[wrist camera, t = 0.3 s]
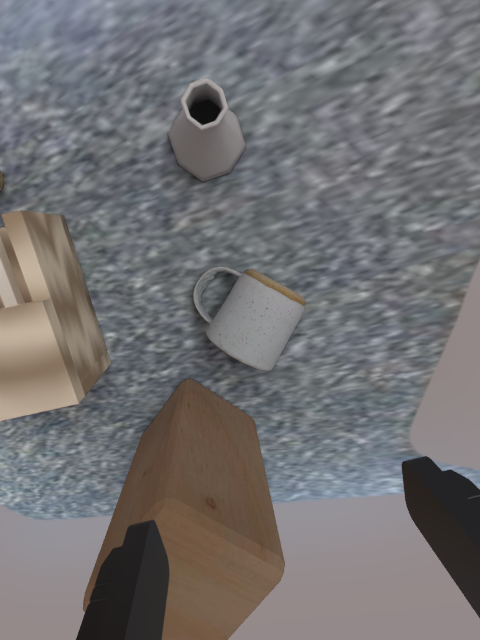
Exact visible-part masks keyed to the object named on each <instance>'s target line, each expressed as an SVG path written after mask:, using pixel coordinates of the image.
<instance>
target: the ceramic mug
mask: <svg viewBox="0 0 480 640" xmlns="http://www.w3.org/2000/svg"><path fill="white" fill-rule="evenodd" d="M223 272H227V273H232V274H234V275H236V276H237V277H238V278H239V279H238V280H237V282H236V283H235V285H234V286H233V288H232V290H231V292H230V293H229V295H228V297H227V299H226V300H225V302H224V303H223V305H222V306H221V308H220V309H219V311H218V313H217V314H216V316H215V318H214V319H212V318H211V317H210V316H209V315H208V314H207V312H206V311H205V309H204V308H203V305H202V303H201V296H202V292H203V291H204V289H205V288H206V286H207V285H208V283H209V282H210V281H211V280H213V279H214V277H215V274H217V273H223ZM193 298H194V303H195V306H196V309H197V310H198V312H199V313H200V315H201V316H202V317H203V318H204V319H205V320H206V321H207V322H208V323H209V324H210V325H209V327H208V329H207V330H206V335H207V337H208V338H209V339H210V341H211V342H212V343H214V344H215V345H216V346H217V347H218V348H220V349H221V350H223V351H224V352H225V353H227V354H228V355H230V356H231V357H233V358H235V359H237V360H238V361H240V362H242V363H244V364H246V365H249V366H251V367H253V368H255V369H258V370H261V371H270V370H272V369H273V367H274V365H275V363H276V362H277V360H278V358H279V356H280V354H281V352H282V351H283V349H284V347H285V345H286V343H287V341H288V340H289V338H290V336H291V334H292V332H293V330H294V329H295V327H296V325H297V323H298V322H299V320H300V318H301V316H302V313H303V310H304V308H305V300H304V298H303V297H302V296H300V295H299V294H297V293H295V292H293V291H291V290H290V289H288V288H286V287H285V286H283V285H281V284H279V283H277V282H276V281H274V280H272V279H270V278H268V277H267V276H265V275H263V274H261V273H259V272H258V271H256V270H254V269H249V270H246V271H245V272H244V273H243V274H241V273H239V272H237V271H235V270H233V269H230V268H226V267H216V268H212V269H210V270H208V271H207V272H205V273H204V274H203V275H202V276H201V277H200V279H199V280H198V282H197V283H196V286H195V288H194V292H193Z"/></svg>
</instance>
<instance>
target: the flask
mask: <svg viewBox="0 0 480 640" xmlns="http://www.w3.org/2000/svg"><path fill="white" fill-rule="evenodd" d="M180 102H181V105H182V110H181V112H180V113H179V115H178V117H177V118H176V120H175V122H174V123H173V125H172V127H171V128H170V130H169V132H168V133H167V134H168V137H169V140H170V142H171V145H172V148H173V151H174V154H175V156H176V159H177V162H178V164H179V165H180V166H181V167H183V168H184V169H185V170H187V171H188V172H190V173H191V174H192V175H194V176H195V177H196V178H198V179H199V180H201V181H202V182H205V181H208V180H210V179H213V178H216V177H219V176H222V175H225V174H228V173H230V172H231V170H232V169H233V167H234V166H235V164H236V163H237V161H238V159H239V158H240V156H241V155H242V153H243V152H244V150H245V149H246V144H245V141H244V137H243V134H242V131H241V127H240V124H239V121H238V117H237V116H236V115H235V114H234V113H233V112H231V111H230V110H229V109H228V105H227V102H226V99H225V96H224V92H223V89H222V88H220V87H219V86H218V85H217V84H215V83H214V82H213V81H212V80H210V79H209V78H208V77H206V78H203V79H200V80H197V81H194V82H192V83H190V84H189V85H188V87H187V89H186V91H185V92H184V94H183V96H182V97H181V99H180Z"/></svg>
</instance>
